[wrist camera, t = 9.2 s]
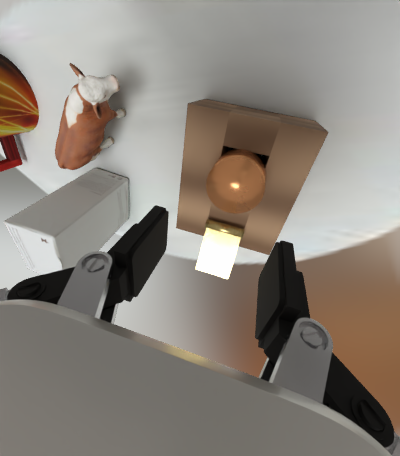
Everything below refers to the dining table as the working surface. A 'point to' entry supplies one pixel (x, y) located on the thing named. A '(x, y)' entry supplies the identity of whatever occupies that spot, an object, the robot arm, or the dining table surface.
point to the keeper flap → (219, 248)
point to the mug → (14, 111)
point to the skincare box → (71, 221)
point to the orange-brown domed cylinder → (236, 181)
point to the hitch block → (255, 142)
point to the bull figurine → (86, 120)
